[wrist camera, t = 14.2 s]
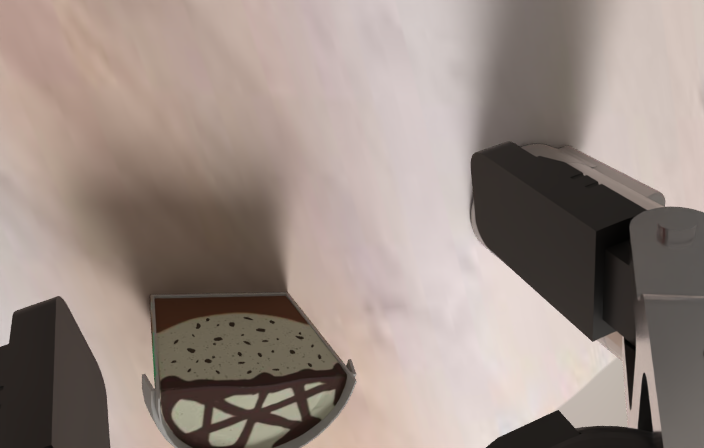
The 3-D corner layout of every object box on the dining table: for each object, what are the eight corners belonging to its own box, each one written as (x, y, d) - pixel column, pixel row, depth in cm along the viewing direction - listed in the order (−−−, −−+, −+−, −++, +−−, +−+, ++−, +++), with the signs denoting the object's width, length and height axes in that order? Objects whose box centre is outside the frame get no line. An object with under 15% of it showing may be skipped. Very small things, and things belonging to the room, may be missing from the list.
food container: (117, 374, 43) (135, 491, 35) (125, 295, 41) (147, 399, 33) (291, 362, 49) (342, 460, 40) (307, 291, 46) (364, 380, 38)
